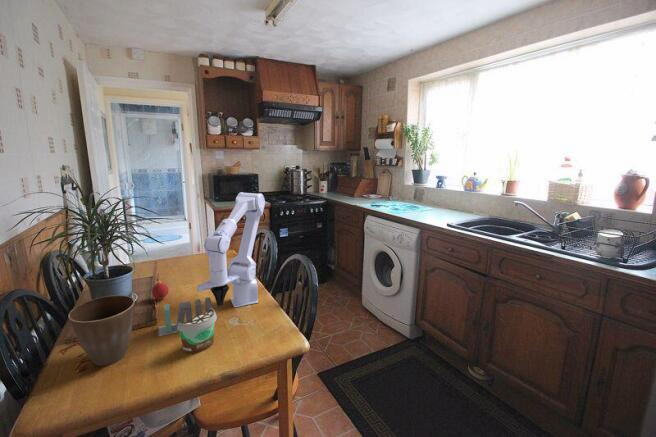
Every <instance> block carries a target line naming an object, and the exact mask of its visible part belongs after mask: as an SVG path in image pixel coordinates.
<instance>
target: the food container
mask: <svg viewBox="0 0 656 437" xmlns="http://www.w3.org/2000/svg"><path fill="white" fill-rule="evenodd" d="M217 318H218V316H217V314H216V311H215V309H214V308H213V307H212V308H211V307H210V311H208V312H206V311H205V312H202V314H200V315H197V316H196V315H195V316H194V317H193V316H192V319H190V320H189V321H187V320H186V321H184V323H183V324H181V323H178V325H177V330H179V336H180V340H181V345H182V350H183V352H185V353H188V354H190V353H191V354H193V353H195V354H196V353H200V352H203V351H206V350H208V349H210V348H211V347H212V345H213V344H214V342H215V340H214V336H215V323H216V321H217Z"/></svg>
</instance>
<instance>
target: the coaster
mask: <svg viewBox="0 0 656 437" xmlns="http://www.w3.org/2000/svg"><path fill="white" fill-rule="evenodd" d="M171 330H172V332H170V333H166V326H165V325H162V326H158V337H161V336H166V335H171V334H172V335H173V334H176V333H180V331H179V330H178V331H177V322H176V323H171Z"/></svg>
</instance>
